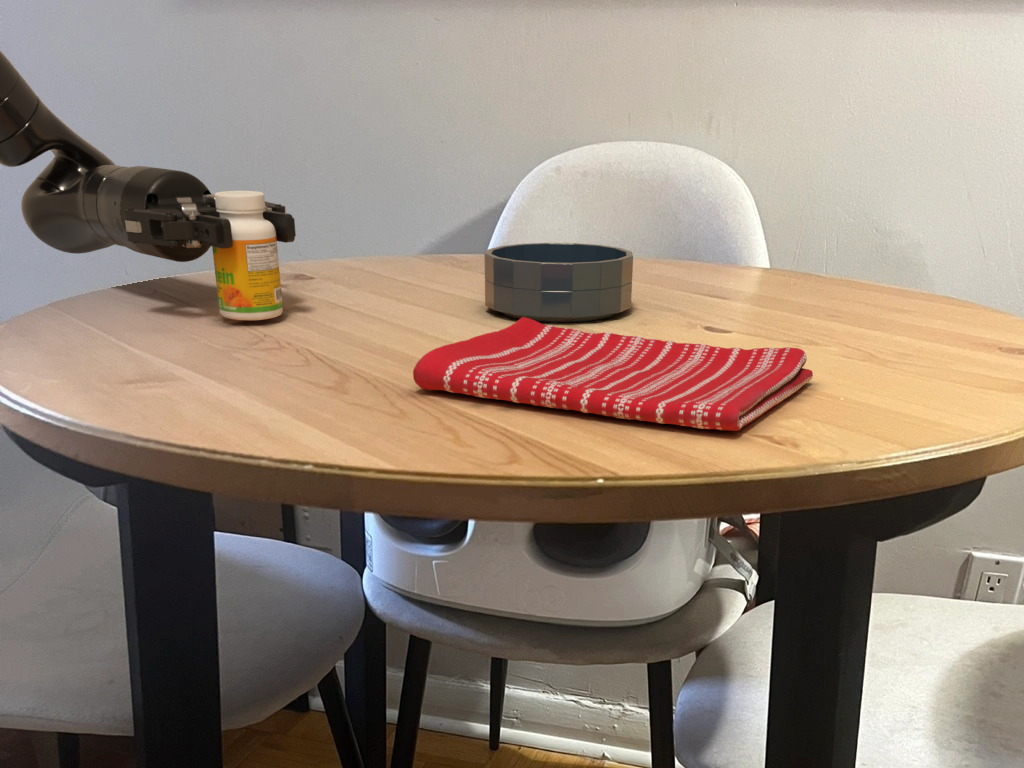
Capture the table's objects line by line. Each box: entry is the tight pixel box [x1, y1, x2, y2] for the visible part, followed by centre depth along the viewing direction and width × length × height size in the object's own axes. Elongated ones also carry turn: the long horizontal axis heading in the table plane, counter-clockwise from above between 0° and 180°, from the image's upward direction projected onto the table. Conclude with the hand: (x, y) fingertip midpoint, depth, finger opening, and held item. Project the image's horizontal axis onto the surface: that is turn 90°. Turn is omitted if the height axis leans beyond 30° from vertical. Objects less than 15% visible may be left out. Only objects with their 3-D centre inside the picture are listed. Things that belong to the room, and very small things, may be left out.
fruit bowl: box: [484, 242, 634, 323], centre depth 104 cm, size 13×13×5 cm
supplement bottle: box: [211, 190, 283, 321], centre depth 98 cm, size 5×5×10 cm
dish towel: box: [412, 317, 814, 432], centre depth 80 cm, size 17×24×3 cm
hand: (259, 231), depth 95 cm, fingers closed on supplement bottle, 5 cm apart
